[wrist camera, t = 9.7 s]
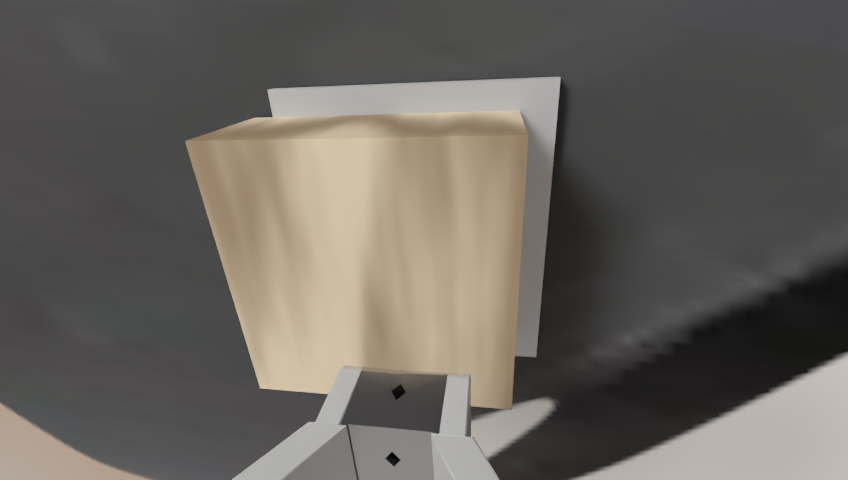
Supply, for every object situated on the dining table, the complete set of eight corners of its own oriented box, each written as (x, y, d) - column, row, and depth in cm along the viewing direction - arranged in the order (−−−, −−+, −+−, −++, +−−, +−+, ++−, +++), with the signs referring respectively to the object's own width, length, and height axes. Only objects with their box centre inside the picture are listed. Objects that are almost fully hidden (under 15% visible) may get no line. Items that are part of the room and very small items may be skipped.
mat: (559, 76, 14) (560, 77, 14) (535, 351, 19) (536, 357, 19) (272, 88, 16) (267, 89, 15) (322, 338, 21) (319, 343, 20)
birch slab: (254, 117, 16) (519, 110, 14) (300, 326, 20) (508, 338, 19) (185, 141, 12) (528, 135, 11) (260, 388, 17) (511, 409, 15)
